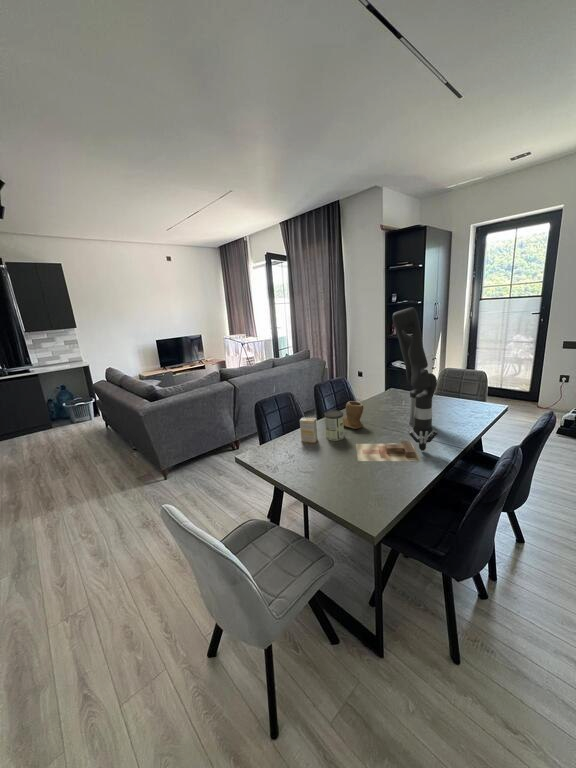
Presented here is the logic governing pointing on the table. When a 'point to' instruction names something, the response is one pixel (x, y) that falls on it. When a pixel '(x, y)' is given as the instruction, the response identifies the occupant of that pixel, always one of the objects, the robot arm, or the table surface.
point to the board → (380, 453)
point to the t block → (401, 449)
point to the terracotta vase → (353, 415)
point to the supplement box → (308, 430)
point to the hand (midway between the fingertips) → (422, 449)
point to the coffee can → (334, 425)
